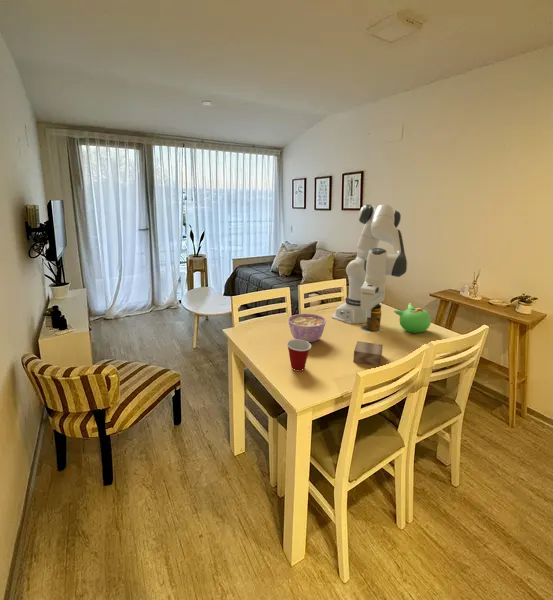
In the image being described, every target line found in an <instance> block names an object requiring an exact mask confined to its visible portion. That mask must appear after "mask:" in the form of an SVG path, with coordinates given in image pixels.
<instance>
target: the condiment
mask: <svg viewBox="0 0 553 600" xmlns="http://www.w3.org/2000/svg"><path fill="white" fill-rule="evenodd" d="M371 313H372V316H371V317H370V318H369V317H367V322H365V323H366V325H363V326H360V325H359V328H360V329H361V330H362V331H363V332H364V333H366V334H367V333H368V334H369V333H380V332H381V333H382V332H383V329H381V319H382V305H381V303H380V304H378V305H376V306H375V307H374V308H372V310H371Z"/></svg>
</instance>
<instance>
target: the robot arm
mask: <svg viewBox="0 0 553 600" xmlns="http://www.w3.org/2000/svg"><path fill="white" fill-rule="evenodd" d="M401 217H402V215H401V213H400V211H398V210H396V209H394V208H393V207H392V206H391V205H390V204H387V203H382V204H379V205H372V204H364V205H362V207H361V208H360V210H359V212H358V221H359V222H360V223H361V224H363V228H362V230H361V233H360V237H359V239H358V242H357V245H356V247H357V250H356V251H357V252H356V257H355V258H354V259H353V260H351V261H349V263H348V264H347V266H346V268H345V272H346V275H347V278H348V286H349V287H348V295H347V297H345V298H344V302H343V303H342V304H340V305H339V306H338V307H337V308H336V309H335V312H334V313H332V314H331V318H332V319H335V320H337V321H341V322H343V323H347V324H351V325H353V324H365V323H367V317H369V318H370V317H371V316H372V313H371V310H372V308H374V307H375V306H376V305H378V304H380V305H381V303H382V302H384V301H385V297H386V282H387V281H386V280H387V278H386V276H392V277H397V278H400V277H401V276H404V274H405V275H406V273H407V270H408V260H407V256H406V251H405V247H404V240H403V235H402V231H401V230H400V229H399V228H398V227H399V225H400V223H401V221H402V220H401ZM380 241H381V242H385V243H387V244H390V245H392V246H393V248H394V249H393V250H394V253H393V254H390V253H388V251H387V250H386V249H384V248H380V247H378V246H379V242H380Z"/></svg>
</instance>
